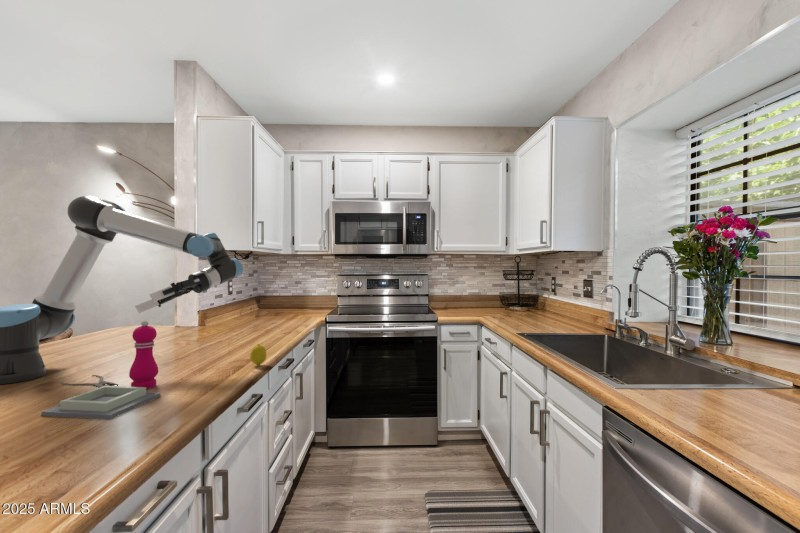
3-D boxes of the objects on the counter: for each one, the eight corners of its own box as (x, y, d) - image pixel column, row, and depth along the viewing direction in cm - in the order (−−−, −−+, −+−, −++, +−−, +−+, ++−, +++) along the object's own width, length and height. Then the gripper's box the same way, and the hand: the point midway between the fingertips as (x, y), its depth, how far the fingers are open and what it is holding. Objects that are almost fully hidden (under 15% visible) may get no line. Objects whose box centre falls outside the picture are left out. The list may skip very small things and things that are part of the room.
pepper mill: (163, 383, 114) (164, 319, 114) (145, 391, 107) (146, 322, 107) (142, 383, 115) (143, 318, 115) (122, 390, 108) (123, 322, 108)
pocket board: (41, 415, 89) (41, 403, 89) (101, 393, 104) (101, 383, 104) (109, 419, 87) (110, 406, 87) (160, 396, 103) (160, 385, 103)
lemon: (262, 367, 134) (263, 345, 134) (247, 367, 134) (248, 345, 134) (268, 364, 139) (268, 342, 139) (254, 363, 139) (254, 342, 139)
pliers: (89, 374, 122) (138, 378, 118) (89, 376, 122) (138, 380, 118) (56, 382, 113) (108, 387, 109) (56, 385, 113) (108, 390, 109)
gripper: (224, 278, 130) (165, 303, 113) (194, 298, 144) (137, 323, 127) (214, 259, 129) (152, 282, 112) (184, 281, 144) (125, 304, 126)
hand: (144, 304), depth 120 cm, fingers open, 13 cm apart
